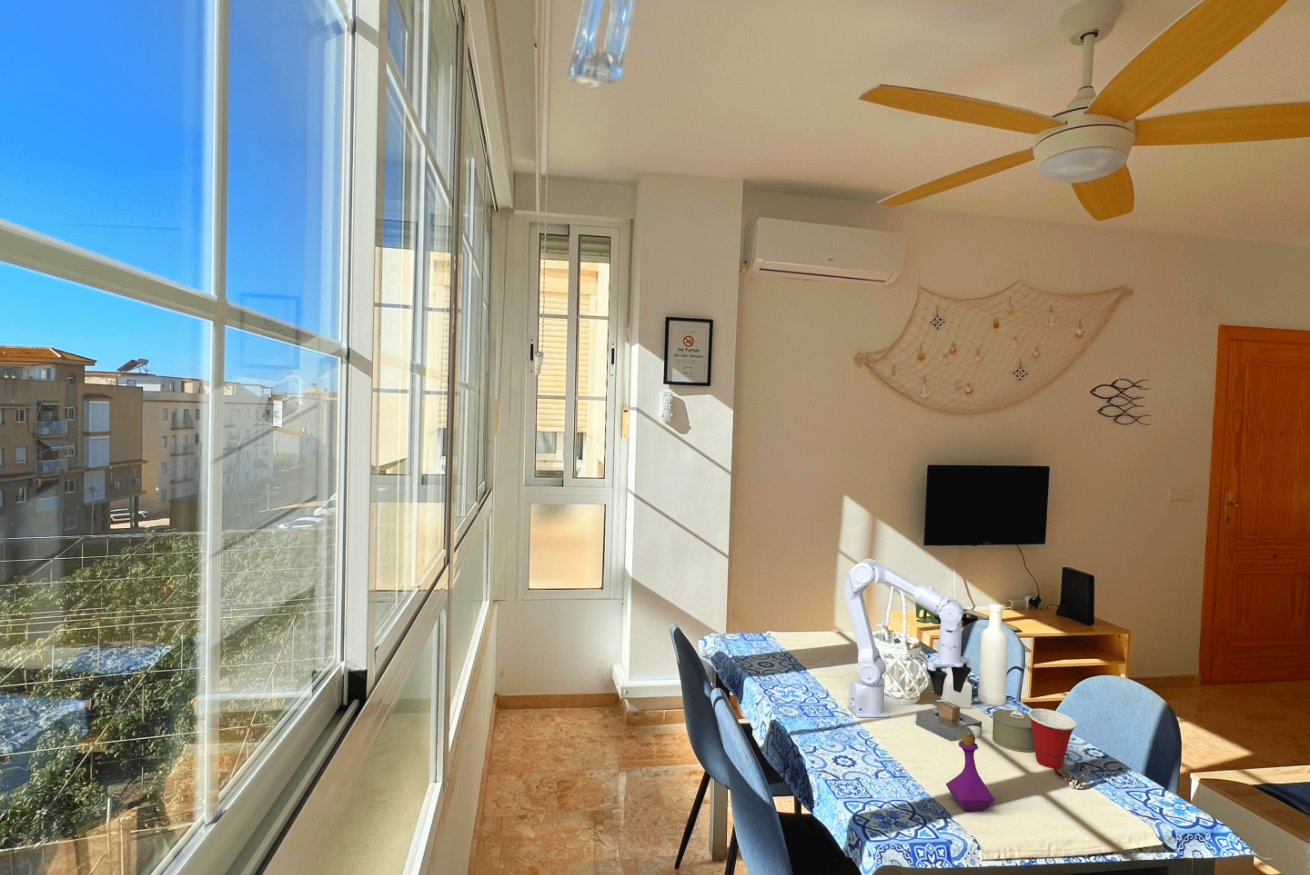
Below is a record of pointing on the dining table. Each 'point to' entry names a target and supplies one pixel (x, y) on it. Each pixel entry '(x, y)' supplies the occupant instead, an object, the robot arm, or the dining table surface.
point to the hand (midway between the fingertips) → (947, 693)
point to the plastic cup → (1050, 736)
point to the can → (1013, 730)
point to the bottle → (993, 660)
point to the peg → (949, 711)
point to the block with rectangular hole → (945, 724)
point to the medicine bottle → (955, 697)
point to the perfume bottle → (970, 778)
